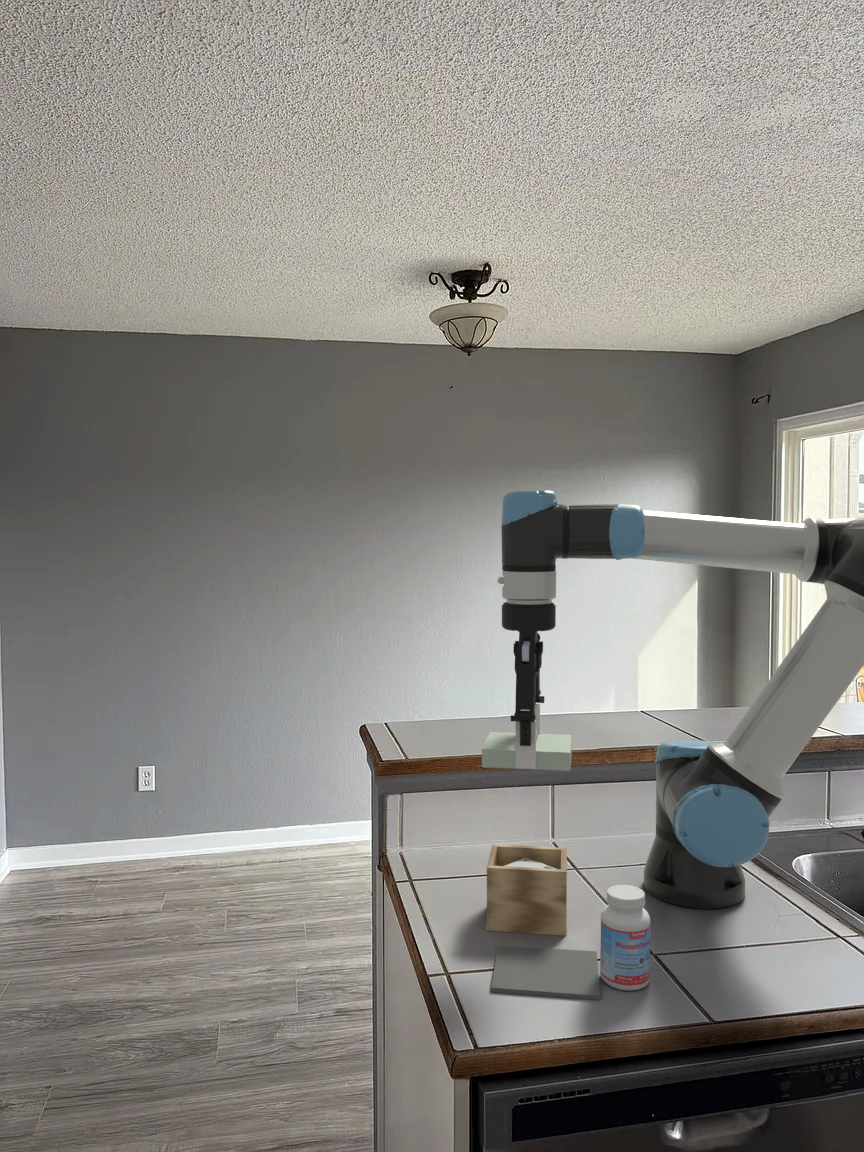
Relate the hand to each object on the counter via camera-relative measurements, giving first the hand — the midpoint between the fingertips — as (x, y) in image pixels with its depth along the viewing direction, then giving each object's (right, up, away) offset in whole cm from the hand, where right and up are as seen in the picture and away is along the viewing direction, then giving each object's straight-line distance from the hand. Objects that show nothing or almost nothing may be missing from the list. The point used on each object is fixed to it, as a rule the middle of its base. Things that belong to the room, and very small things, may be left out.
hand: (528, 757), depth 125 cm
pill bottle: (+10, -25, -15) cm, 31 cm away
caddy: (0, -24, +2) cm, 24 cm away
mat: (+1, -25, -13) cm, 28 cm away
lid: (0, 0, 0) cm, 0 cm away
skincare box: (0, -24, +2) cm, 24 cm away
